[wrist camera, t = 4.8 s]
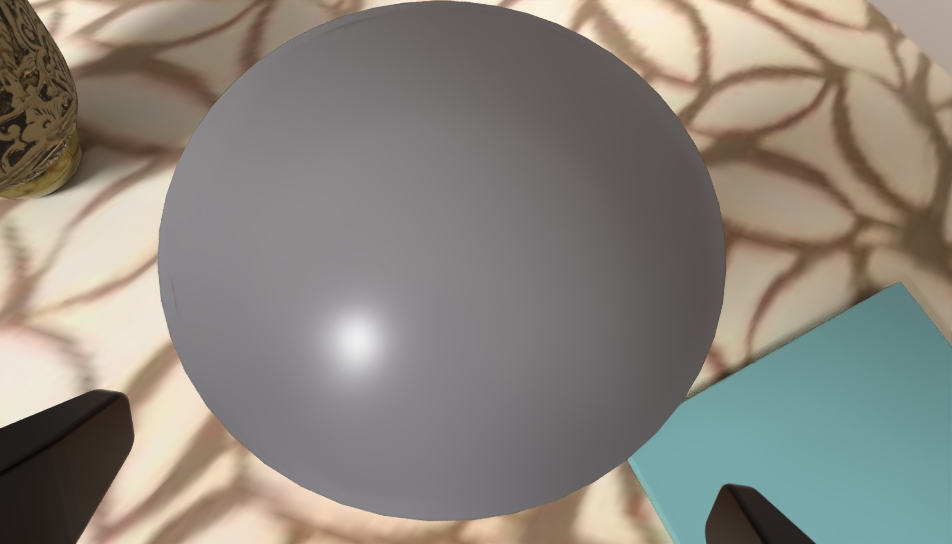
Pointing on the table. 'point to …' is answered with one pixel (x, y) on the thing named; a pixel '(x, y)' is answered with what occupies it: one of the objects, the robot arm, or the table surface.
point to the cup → (34, 107)
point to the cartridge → (441, 260)
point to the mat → (822, 433)
